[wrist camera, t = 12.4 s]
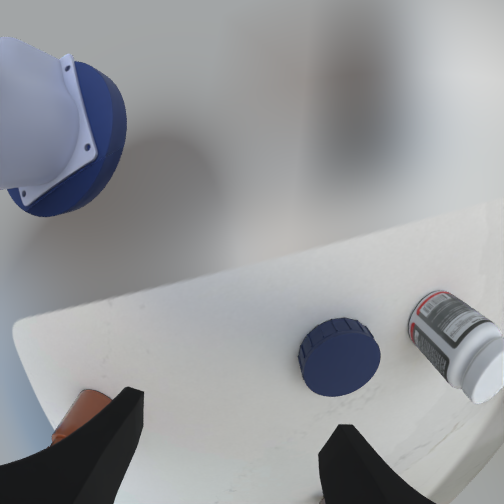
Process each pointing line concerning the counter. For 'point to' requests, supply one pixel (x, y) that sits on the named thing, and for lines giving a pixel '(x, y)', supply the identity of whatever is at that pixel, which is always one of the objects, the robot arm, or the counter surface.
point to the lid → (338, 357)
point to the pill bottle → (460, 344)
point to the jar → (80, 413)
